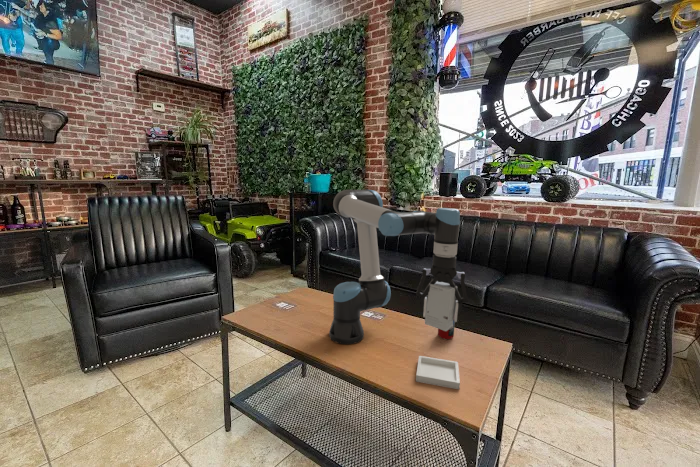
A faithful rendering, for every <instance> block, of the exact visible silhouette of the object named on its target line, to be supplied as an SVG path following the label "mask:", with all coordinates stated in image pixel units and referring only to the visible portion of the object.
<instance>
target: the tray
mask: <svg viewBox="0 0 700 467" xmlns="http://www.w3.org/2000/svg"><path fill="white" fill-rule="evenodd" d="M415 382H416V383H422V384H429V385H431V386H432V385H434V386H438V387H439V386H440V387H444V388H449V389H456V390H460V386H461V383H460V382H461V380H460V370H459V361H456V360H449V359H442V358H436V357H432V356H431V357H429V356H424V355H418V360H417V369H416V375H415Z"/></svg>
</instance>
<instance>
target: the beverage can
mask: <svg viewBox="0 0 700 467" xmlns="http://www.w3.org/2000/svg"><path fill="white" fill-rule="evenodd" d="M455 323H456V322H454V320H453V326H452V327H451V328H450V329H449V330H447V331H443V330H441V329H438V328H437V336H438V337H440V338H441V339H443V340H451V339H454V337H455V326H456V325H455Z"/></svg>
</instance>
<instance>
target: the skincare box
mask: <svg viewBox="0 0 700 467" xmlns="http://www.w3.org/2000/svg"><path fill="white" fill-rule="evenodd" d="M428 284H429V283H428ZM429 285H430V290H429V292H428V294H427V304H426V316H425V317H424V325H427V326H430V327H432V328H435V329H437V330H438V329H441V330H443V331H447V330H449V329H450V328H451V327H452V326H453V320H454V314H455V304H456V301H457V298H456V296H455V288H454V287H451V286H450V284H449V282H448V283H445V282H438V281H437V282H436V283H435V284H429ZM455 287H456V289H457V290H458V288H459V286H457V285H455Z"/></svg>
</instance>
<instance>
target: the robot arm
mask: <svg viewBox="0 0 700 467" xmlns="http://www.w3.org/2000/svg"><path fill="white" fill-rule="evenodd" d="M332 203H333V204H332V206H333V209H334V211H335V212H336V213H337V214H338V215H340V216H341V217H344V218H347V219H348V218H352V220H353V221H354V223H356V226H357V227H356V228H357V237H358V238H357V239H358V248H359V249H358V250H359V259H360V261H359V262H360V271H361V276H360V277H359V278H358V282H357V281H345V282H340V283H339V284H337V285H336V286H335V287H334V290H333V296H332V297H333V298H332V299H333V314H332V315H333V316H332V318H333V319H332V322H331V325H330V328H329V331H328V332H329V334H328V335H329V336H328V337H329V339H330V340H331V341H333V342H334V343H337V344H340V345H352V344H353V345H354V344H357V343H359V342H361V341H362V340H363V339H364V335H365V333H364V332H365V331H364V328H363V325H362V321H361V312H364V311H368V310H373V309H378V308H381V307H383V306H386V305H387V304H388V303H389V301H390V300H391V297H392V296H391V295H392V293H391V292H392V291H391V287H390V285H389V283H388V282H387V281H386V280H385V277H384V276H383V275H382V274H381V269H380V268H381V267H380V255H379V246H378V233H377V229H378V230H379V232H380V233H381V234H382V235H383V236H385V237H396V236H404V235H417V234H428V235H432V236H434V238H433V255H432V264H431V265H432V266H431V268H426V267H423V268H422V276H421V278H420V282H419V284H418V286H417V290H416V292H415V295H416V297H420V307H421V308H423V313H422V314H423V316H422V318H425V316H426V307H427V299H428V292H429V290H430V285H429V284H435V283H436V282H437V281H438V282H444V283H448V284H450V286H451V287H454V288H455V296H456V304H455V312H454V322H455V323H457V322H458V315H459V314H458V313H461V312H462V308H463V303H468V302H469V297H468V294H467V288H466V282H465V279H466V274H465V271H457V269H456V267H457V254H458V244H459V240H458V239H459V231H460V225H461V221H460V220H461V216H460V215H461V212H460V210H459V209H458V208H449V207H438V208H436V211H435V212H431V211H430V212H429V211H424V210H413V211H409V212H399V211H395V210H392V209H389V208H386V207H384V206H383V205H384V202H383V199H382V197H381V194H380V193H379V192H378V191H376V190H373V189H343V190H341V191H339V192H338V193H337V194H336V195H335V196H334V198H333V202H332ZM429 274H431V276H432V278H431V280H430V282H428V284H427V285H426V287H425V289H424V290H423V291H422V288H423V286H424V283H425V280H426V278H427V276H429ZM456 276H457V278H458V279H459V280H460V285H461V290H462V296H461V294H460V292H459V290H458V289H456V287H455V286H456V284H455V282H454V278H455V277H456Z"/></svg>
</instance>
